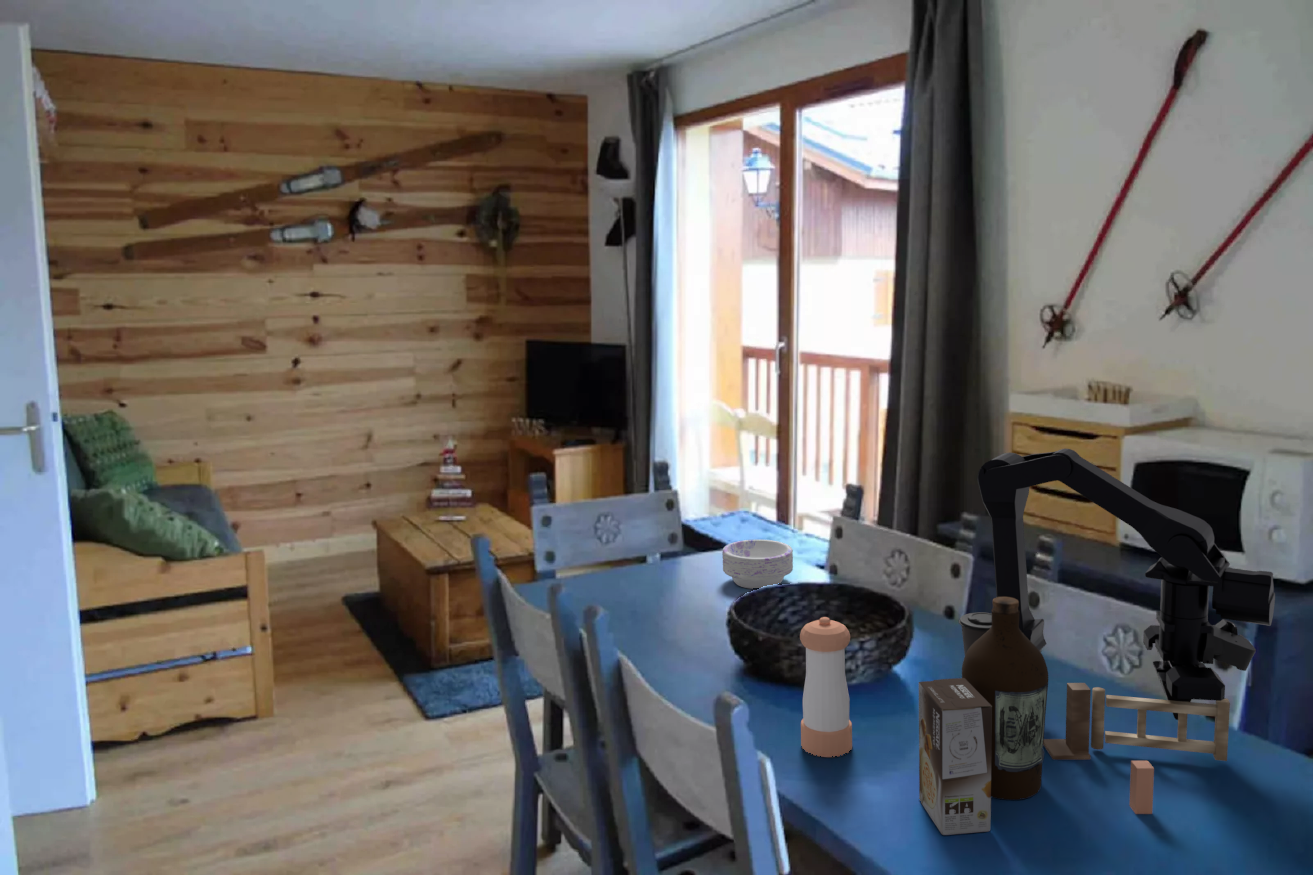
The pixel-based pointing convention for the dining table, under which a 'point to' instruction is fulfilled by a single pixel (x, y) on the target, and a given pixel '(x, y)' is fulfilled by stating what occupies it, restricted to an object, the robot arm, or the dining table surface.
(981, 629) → the coffee cup
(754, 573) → the white patterned bowl
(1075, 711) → the hinge post
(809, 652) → the salt shaker
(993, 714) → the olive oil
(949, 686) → the coffee box
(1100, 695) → the gate
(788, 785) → the dining table surface
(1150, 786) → the post
